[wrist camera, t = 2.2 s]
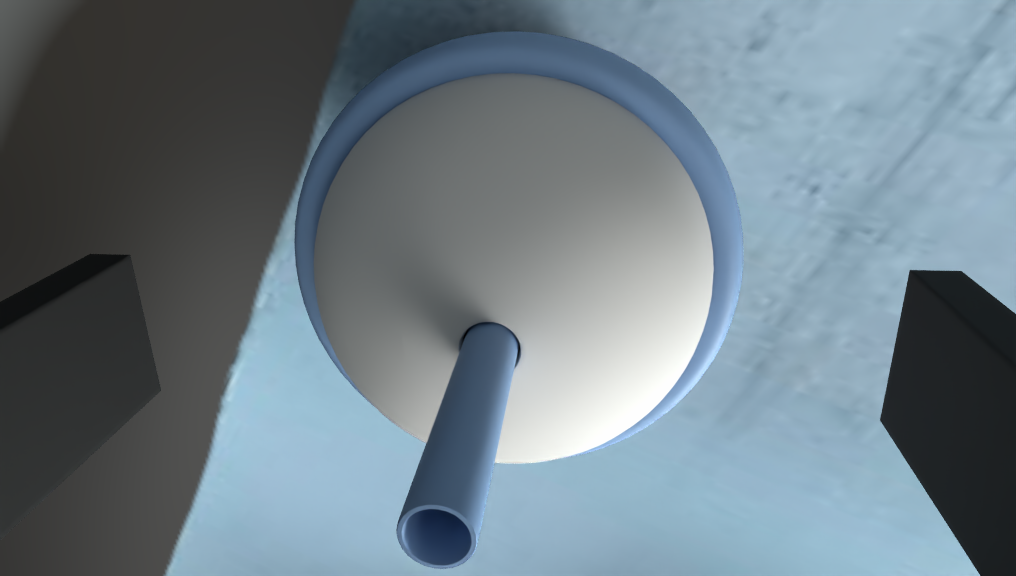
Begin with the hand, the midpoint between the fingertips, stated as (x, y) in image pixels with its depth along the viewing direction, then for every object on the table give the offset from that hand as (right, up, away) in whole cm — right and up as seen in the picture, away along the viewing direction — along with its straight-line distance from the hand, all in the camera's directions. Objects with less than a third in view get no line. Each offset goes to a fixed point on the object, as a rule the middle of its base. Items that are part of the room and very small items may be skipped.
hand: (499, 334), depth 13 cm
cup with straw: (+1, +5, +12) cm, 13 cm away
